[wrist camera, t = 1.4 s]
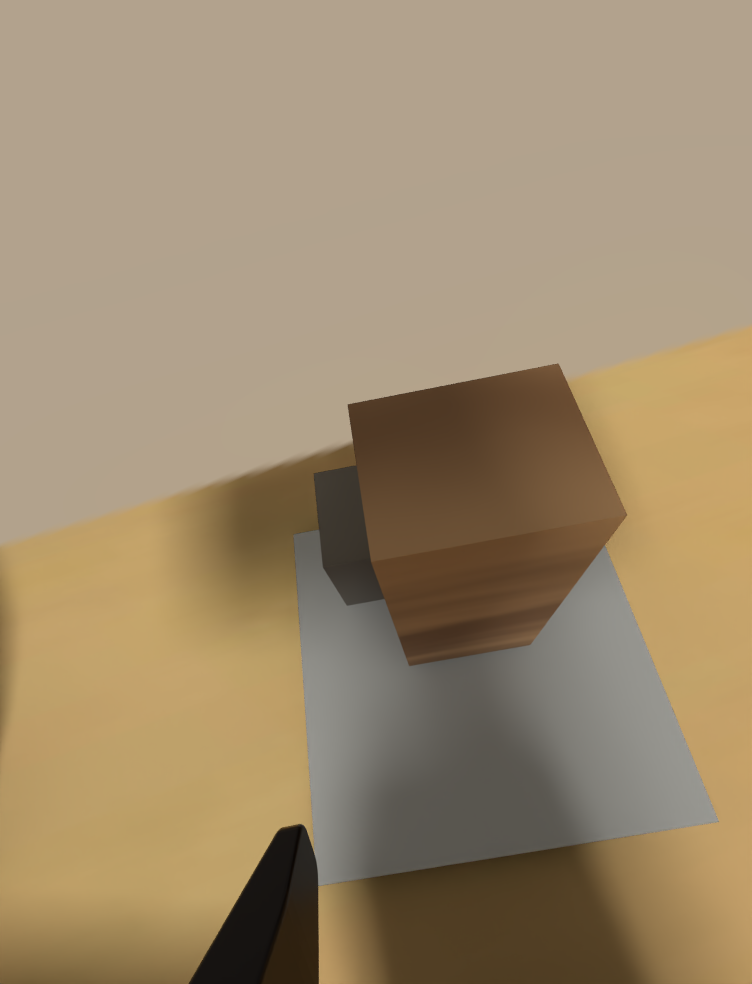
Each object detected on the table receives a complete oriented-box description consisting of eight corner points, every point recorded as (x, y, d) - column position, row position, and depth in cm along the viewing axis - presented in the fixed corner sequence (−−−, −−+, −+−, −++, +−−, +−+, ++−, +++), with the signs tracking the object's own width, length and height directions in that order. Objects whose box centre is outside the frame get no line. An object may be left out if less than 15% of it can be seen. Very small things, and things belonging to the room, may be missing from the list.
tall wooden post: (530, 644, 20) (626, 514, 9) (409, 666, 20) (371, 562, 10) (503, 554, 22) (558, 363, 11) (393, 574, 22) (347, 404, 11)
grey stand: (705, 818, 17) (816, 842, 12) (323, 880, 18) (273, 928, 13) (573, 491, 24) (609, 417, 19) (298, 542, 25) (259, 483, 19)
